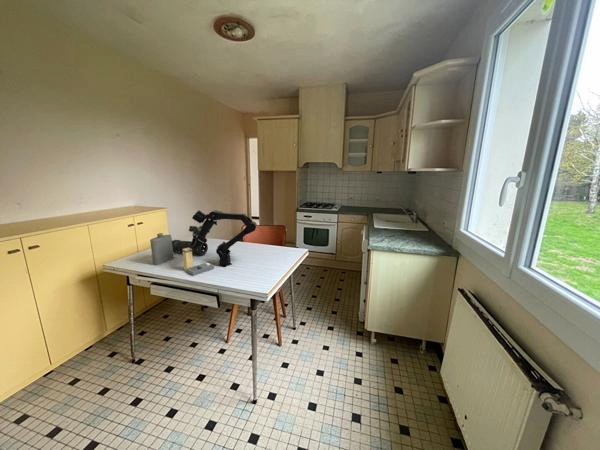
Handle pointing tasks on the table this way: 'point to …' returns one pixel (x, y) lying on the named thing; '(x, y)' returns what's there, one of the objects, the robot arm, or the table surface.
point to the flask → (161, 248)
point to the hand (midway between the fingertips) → (191, 247)
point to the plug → (187, 258)
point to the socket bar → (200, 268)
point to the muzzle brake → (180, 245)
